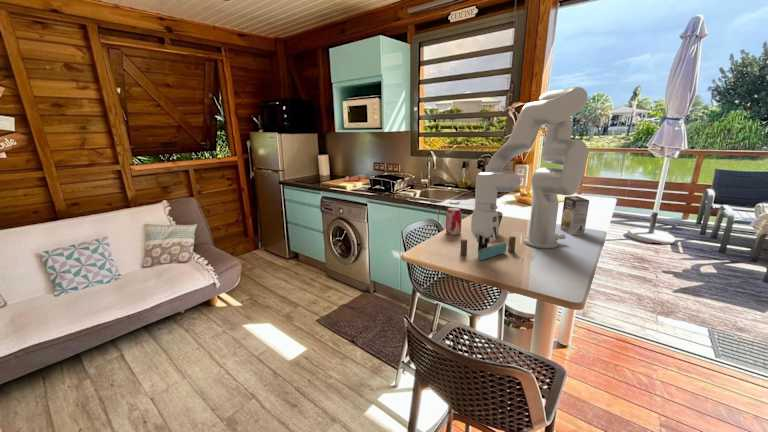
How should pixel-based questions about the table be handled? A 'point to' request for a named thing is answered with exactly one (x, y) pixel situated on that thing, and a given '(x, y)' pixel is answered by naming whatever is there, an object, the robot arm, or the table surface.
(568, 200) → the coffee box
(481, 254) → the bar
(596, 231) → the table surface
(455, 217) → the soda can
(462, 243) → the gate posts
